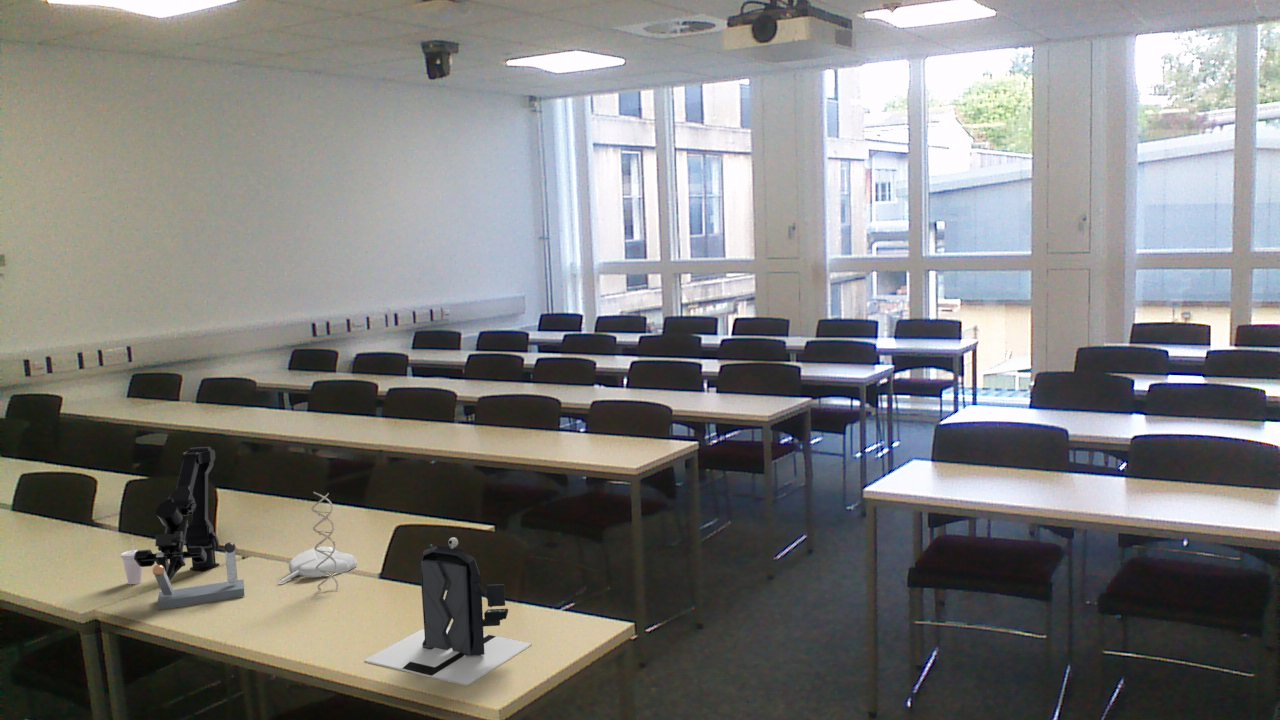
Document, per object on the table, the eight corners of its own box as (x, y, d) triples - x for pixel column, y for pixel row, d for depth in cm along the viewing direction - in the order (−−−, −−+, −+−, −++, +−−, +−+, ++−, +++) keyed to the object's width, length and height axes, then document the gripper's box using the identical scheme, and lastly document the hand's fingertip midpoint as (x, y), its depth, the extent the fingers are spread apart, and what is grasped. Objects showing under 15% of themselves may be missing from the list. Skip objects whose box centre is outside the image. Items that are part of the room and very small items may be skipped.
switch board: (160, 600, 285) (159, 591, 285) (244, 587, 294) (243, 579, 294) (158, 610, 277) (157, 601, 277) (244, 596, 286) (243, 588, 285)
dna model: (312, 593, 287) (304, 494, 283) (326, 585, 293) (319, 489, 289) (330, 595, 284) (322, 495, 281) (344, 588, 290) (337, 490, 287)
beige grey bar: (225, 582, 289) (222, 542, 287) (236, 579, 291) (233, 540, 289) (228, 584, 286) (225, 544, 285) (239, 582, 288) (236, 542, 287)
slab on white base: (364, 662, 236) (356, 549, 233) (433, 625, 258) (427, 522, 255) (467, 686, 221) (461, 566, 218) (531, 645, 243) (526, 535, 240)
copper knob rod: (164, 588, 282) (152, 562, 274) (175, 588, 283) (164, 561, 275) (161, 598, 280) (149, 571, 272) (173, 597, 280) (161, 571, 272)
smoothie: (150, 579, 305) (146, 536, 303) (138, 586, 298) (134, 542, 297) (131, 579, 305) (127, 536, 304) (119, 586, 299) (114, 542, 297)
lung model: (363, 565, 311) (298, 597, 290) (329, 558, 320) (263, 588, 300) (360, 546, 310) (295, 576, 289) (326, 540, 319) (260, 568, 299)
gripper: (133, 524, 281) (122, 573, 272) (200, 519, 284) (191, 568, 274) (145, 541, 290) (135, 590, 281) (210, 537, 293) (202, 585, 283)
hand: (166, 583), depth 279 cm, fingers closed, pressing on copper knob rod
